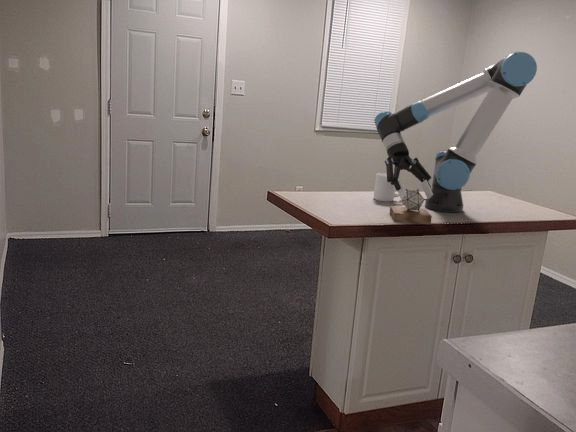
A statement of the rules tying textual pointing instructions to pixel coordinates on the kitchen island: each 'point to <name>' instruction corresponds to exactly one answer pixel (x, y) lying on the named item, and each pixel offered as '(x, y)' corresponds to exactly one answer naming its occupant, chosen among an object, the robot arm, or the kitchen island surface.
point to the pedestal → (410, 215)
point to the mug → (384, 188)
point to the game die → (413, 200)
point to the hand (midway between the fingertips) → (417, 197)
